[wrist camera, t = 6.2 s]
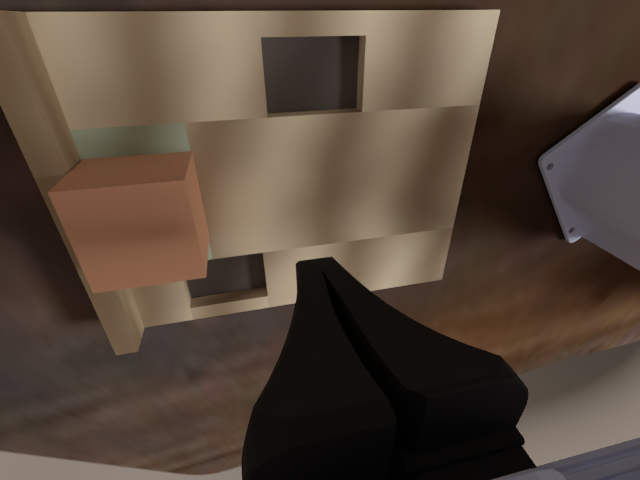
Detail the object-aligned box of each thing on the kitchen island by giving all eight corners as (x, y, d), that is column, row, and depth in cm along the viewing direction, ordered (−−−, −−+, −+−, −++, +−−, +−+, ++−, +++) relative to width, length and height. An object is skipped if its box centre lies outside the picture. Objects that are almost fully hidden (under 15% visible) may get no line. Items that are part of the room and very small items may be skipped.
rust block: (192, 151, 18) (184, 180, 14) (209, 236, 20) (206, 277, 17) (82, 159, 17) (47, 192, 13) (115, 247, 19) (93, 293, 16)
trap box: (485, 10, 19) (529, 8, 16) (433, 270, 27) (456, 296, 25) (6, 13, 14) (-44, 10, 12) (128, 317, 23) (116, 355, 21)
